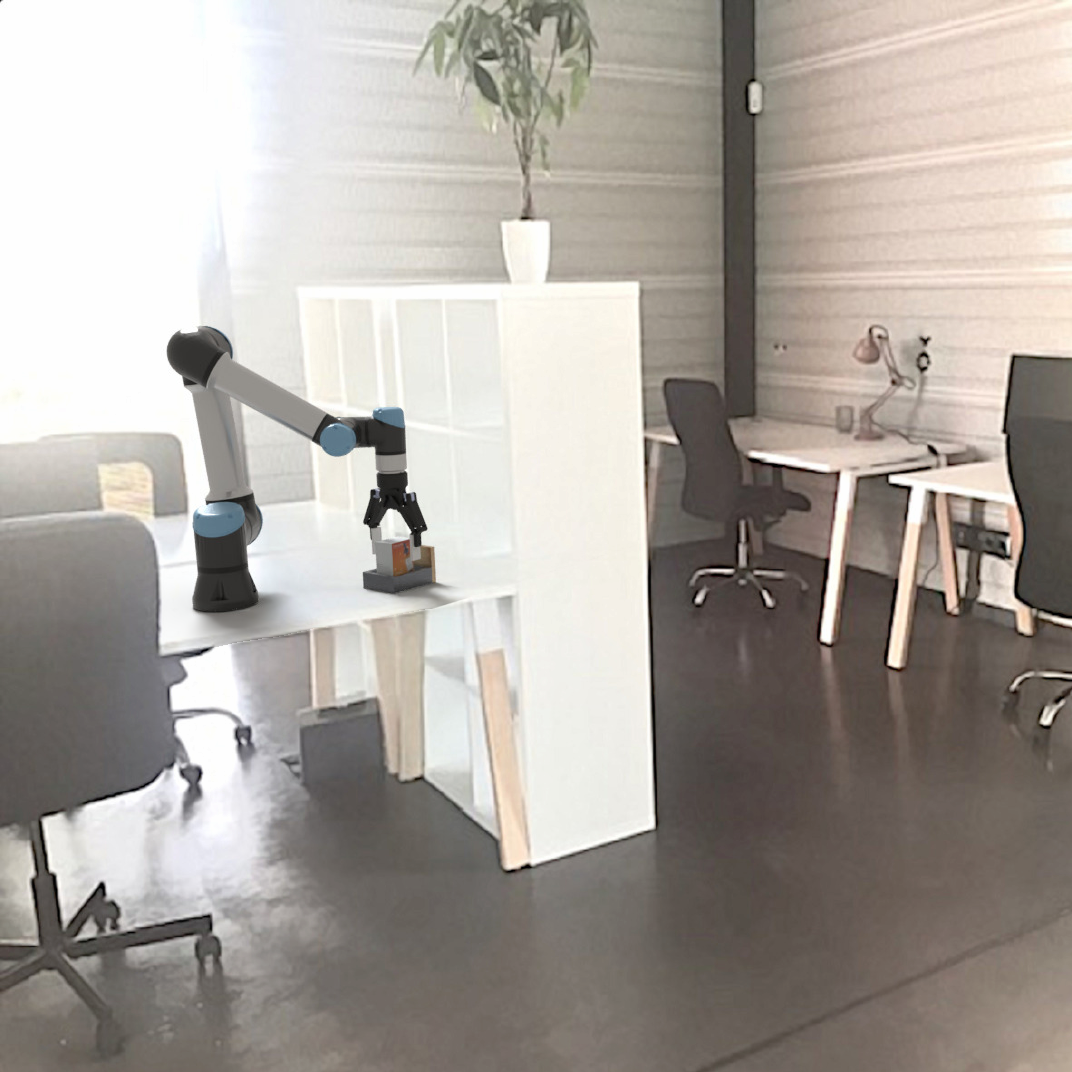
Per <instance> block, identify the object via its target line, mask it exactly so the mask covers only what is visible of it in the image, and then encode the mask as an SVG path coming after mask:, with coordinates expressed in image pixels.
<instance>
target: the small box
mask: <svg viewBox="0 0 1072 1072" xmlns="http://www.w3.org/2000/svg"><path fill="white" fill-rule="evenodd" d="M375 549H376V554H375V563H376V564H375V565H376V567H375V568H377V573H378V574H384V575H389V576H397V575H400V574H404V573H408V572H412V571H414V561H411V556H410V537H405V536H394V537H390V538H387V539H382V541H378V542H375Z"/></svg>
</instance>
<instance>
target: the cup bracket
mask: <svg viewBox="0 0 1072 1072" xmlns="http://www.w3.org/2000/svg"><path fill="white" fill-rule="evenodd" d="M420 551H421V559H418V560H415V561H414V571H412V572H408V573H404V574H400V575H397V576H389V575H384V574H378V573H377V567H375V568H374V569H369V570H365V571H363V572H362V583H363V586H362V587H363V589H368V590H374V591H378V592H382V593H388V594H395V595H396V594H399V593H403V592H407V591H409V590H412V589H417V588H419V587H423V586H427V585H430V584H434V583H436V582H437V579H436V578H437V575H436V574H437V573H436V556H435V555H436V554H435V546H432V545H426V544H422V545H421V546H420Z"/></svg>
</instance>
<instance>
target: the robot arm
mask: <svg viewBox="0 0 1072 1072" xmlns="http://www.w3.org/2000/svg"><path fill="white" fill-rule="evenodd" d="M233 348H234V347H233V345H232V343H231V340H230V339H229V336H227V335H226V334H225V333H224V332H223V331H221V330H220V329H218V328H215V327H212V326H208V325H199V326H193V327H192V326H189V327H184V328H181V329H179V330H178V331H176V332H174V334H172V336H171V337H170V339H169V340H168V342H167V345H166V358H167V362H168V363H169V366H170V367H171V368H172V369H173V371H175V373H177V374H178V375H180V376H181V378H182V384H183V388H185V389H186V390H188V391H189V392H190V393H191V395H192V400H193V406H194V411H195V417H196V422H197V428H198V433H199V439H200V445H201V449H202V455H203V461H204V465H205V472H206V477H207V482H208V488H209V492H208V494H207V495H206V496H205V498H204V501H205V505H202V506H199V507H197V509H195V510H194V512H193V513H192V529H193V538H194V547H195V548H194V549H195V558H196V568H197V569H196V570H197V578H196V581H195V586H194V590H193V595H192V599H191V600H192V608H193V609H195V610H197V611H202V612H209V613H210V612H212V613H213V612H215V613H216V612H230V611H235V610H237V611H238V610H241V609H242V610H243V609H247V608H250V607H252V606H255V605H256V604H258V603H259V600H260V599H259V598H260V597H259V592H258V589H257V586H256V585H255V584H256V583H255V582H254V580H253V577H252V575H251V571H250V570H249V562H248V561H249V560H248V546H250V545H251V544H253V543H254V542H255V541H256V540H257V539H258V537H259V535H260V534H261V531H262V529H263V523H264V522H263V521H264V518H263V513H262V511H261V509H260V507H259V506H258V504H256V503H257V502H256V498H255V494H254V493H255V492H254V490H253V489H251V488H250V487H248V485H246V479H245V478H246V477H245V474H244V469H243V468H244V467H243V463H242V457H241V452H240V445H239V441H238V434H237V429H236V428H237V427H236V423H235V418H234V417H235V416H234V411H233V407H232V406H233V405H232V401H231V398H233V399H234V400H236V401H238V402H240V403H241V404H243V405H246V406H247V407H249V408H250V409H253V410H254V411H256V412H258V413H259V414H262V415H264V416H265V417H267V418H269V419H271V420H273V421H274V422H276V423H278V424H280V425H281V426H283V427H285V428H287V429H289V430H291V431H293V432H295V433H296V434H297V435H300V436H301V437H303V438H305V439H307V440H308V441H310V442H312V443H314V444H315V445H317V446H318V447H320V448H322V451H324V452H325V453H326V454H327V455H329V456H330V457H334V458H337V457H339V458H340V457H344V456H347V455H348V454H350V453H351V452H352V451H353V450H354V449H362V448H364V449H365V448H369V449H370V448H374V451H375V452H374V455H375V470H376V471H377V473H376V487H377V488H372V489H370V491H369V501H368V504H367V507H366V510H365V513H364V518H363V520H362V523H363V525H364V526H365V525H366V526H367V527H368V528H369V535H370V536H369V537H370V541H371V553H372V555H375V556H376V549H375V542H378V541H383V537H382V527H381V522H382V520H383V518H384V517H385V515H386V513H387V512H388V510H394V511H396V512H397V513H400V515H401V517H402V519H403V520H404V522H405V523H406V526H407V527H408V529H409V530H410V533H409V535H408V536H409V537H408V538H410V556H411V561H415V560H418V559H421V551H420V546H421V545H423V544H422V534H423V532H427V531H428V526H427V524H426V520H425V518H424V516H423V513H422V510H421V507H420V506H419V503H418V498H417V493H416V492H415V491H412V492H407V486H409V485H408V484H409V477H408V476H409V475H408V472H407V471H406V470H407V469H408V463H407V462H408V461H407V460H408V459H407V441H406V439H407V437H406V436H407V435H406V424H405V423H406V422H405V412H404V410H403V409H402V408H401V407H399V406H384V407H375V408H374V409H373V410H372V415H369V416H343V417H342V416H333V415H331V414H330V413H328V412H326V411H325V410H323V409H321V408H319V407H317V406H316V405H314V404H312V403H310V402H309V401H307V400H305V399H303V398H301V397H300V396H298V395H296V394H294V393H292V392H291V391H289V390H287V389H286V388H284V387H281V386H280V385H278V384H276V383H275V382H273V381H271V380H269V379H268V378H265V377H263V376H262V375H261V374H259V373H257V372H255V371H254V370H252V369H249V368H247V367H246V366H244V365H243V364H240V363H239V362H237V361H235V360H233V359H234V358H233V356H234V349H233Z"/></svg>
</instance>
